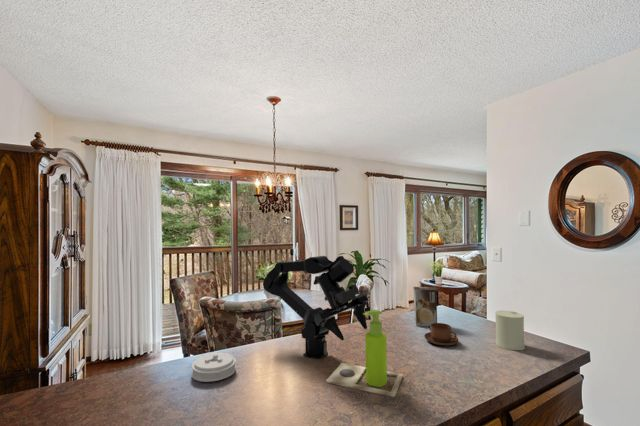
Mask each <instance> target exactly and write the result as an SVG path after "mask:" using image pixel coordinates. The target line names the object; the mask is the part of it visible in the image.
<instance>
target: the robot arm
mask: <svg viewBox="0 0 640 426" xmlns="http://www.w3.org/2000/svg"><path fill="white" fill-rule="evenodd" d="M354 271H355V267H354V265H353V263H351V262H350V261H349V260H348V259H346V258H345V257H344V256H343V255H339V256H337V257H336V259H335V260H334V261H332V260H330V259H329V258H328V257H327V256H325V255H320V256H319V255H318V256H311V257H308V258H305V259H304V260H293V261H292V260H291V261H287V260H286V261H285V260H283V261H279V262H277V263H275V265H274V267H273V268H272V269H271V270H270V271H269V272H268V273H267V274H266V276H265V277H264V280H263V282H262V286H263V289H264V291H266V292H267V293H269V294H270V295H273V296H277V297H278V298H280V299H281V300H282V301H283V302H284V303H285V304H286V305H287V306H288V307H290V308H291V309H292V310H293V312H295V313H296V314H297V315H298V316H299V317H300V318H301V319H302V320H303V326H304V328H303V329H302V330H301V331H300V333H301V337H302V339H305V340H304V342H305V348H304V349H305V351H304V353H303V355H302V356H303V357H307V358H312V359H317V360H321V359H322V358H323V357H324V356H325V355H326V354H328V350H327V349H328V345H327V344H328V341H327V340H326V335H329V334H330V332H331V333H333V334H334V335H335V336H336V337H337V338H338V339H340V341H344V340H345V337H344V335H343V332H342V331H341V329H340V328H339V325H338V324H337V320H336V315H338V314H340V313H343V312H345V311H348V310H350V309H352V310H353V311H352V312H353V313H352V314H354V315H355V317H356V319H357V321H358V322H359V323H360V325H361V327H362V328H363V329H364V330H367V329H368V324H367V319H366V316H365V315H363V313H365V312H366V310H365V309H366V306H367V305H368V301H370V299H369V297H368V296H367V294H365V293H362V294H360V291H359V287H358V286H357V285H356V284H351V285H349V286H348V288H347V289H345V288H344V286H341V285H340V284H339V283H342V282H344V281H345V280H346V279H347V278H348V277H349V276H351V275H352V274H353V273H354ZM289 272H290V273H291V272H305V273H306V274H311V275H315V277H314V280H313V285H314V286H315V285H319V286H320V289H321V291H322V292H323V294H324V296H325V297H324V298H323V299H324V300H325V302H326V301H327V302H328V304H329V306H330V308H329V307H327V308H322V307H315V308H312V307H311V305H309V304H308V303H307V302H306V301H305V300H303V298H302V297H300V296H299V295H298V294H297V293H296V292H295V291H293V290H292V289H291V288H290V287H289V284H288V283H289V282H288V279H289ZM316 274H320V275H317V276H316ZM358 294H359V295H358Z"/></svg>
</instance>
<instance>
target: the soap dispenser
mask: <svg viewBox="0 0 640 426" xmlns="http://www.w3.org/2000/svg"><path fill="white" fill-rule="evenodd" d="M381 314H382V311H381V310H377V309H373V310H368V311H365V313H363V315H365V317H371V316H372V320H371V321H370V322H369V332H366V333H365V367H366V371H365V382H366V384H367V383H368V384H367V385H368V386H371V387H374V388H375V387H377V388H380V387H384V386H386V385H387V383H388V375H387V371H388V366H387V365H388V363H387V362H388V360H387V359H388V357H387V346H388V345H387V344H388V343H387V334H386V333H383V331H382V330H383V323H382V321H380V318H379V317H380V315H381Z"/></svg>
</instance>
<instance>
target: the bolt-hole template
mask: <svg viewBox="0 0 640 426" xmlns="http://www.w3.org/2000/svg"><path fill="white" fill-rule="evenodd" d="M364 373H366V366H361V365H355V364H350V363H346V362H340V364H339V365H338V367H336V369H334V371H333V372H332V374H330V376H328V378H327V379H326V383H328V384H333V385H335V386H336V385H337V386H341V387H346V388H351V389H356V390H361V391H365V392H369V393H373V394H374V393H375V394H379V395H382V396H383V395H384V396H387V397H391V398H396V395H397V392H398V389H399V387H400V384H401V382H402V380H403V377H404V374H403V373H400V372H398V373H397V372H393V371H389V370H387V376H390V377H396V378H395V381H394V384H393V386H392V388H391V391H389V390H385V389H380V388H375V387H372V386H371V387H370V386H366V385H363V384H358V382H359V381H358V380H360V379H361V378H362V376H363V375H364ZM362 374H363V375H362ZM356 383H357V384H356Z"/></svg>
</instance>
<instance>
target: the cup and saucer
mask: <svg viewBox="0 0 640 426" xmlns="http://www.w3.org/2000/svg"><path fill="white" fill-rule="evenodd" d="M424 339H425V340H426V341H428V342H429V343H431V344H434V345H437V346H445V347H446V346H453V345H456V344H457V343H458V341H459V337H458V336H457V333H456V332H454V331H452V326H451V325H450V324H447V323H444V322H443V323H442V322H437V323H433V324H431V327H430V331H428V332H427V333H426V332H425V334H424Z"/></svg>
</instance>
